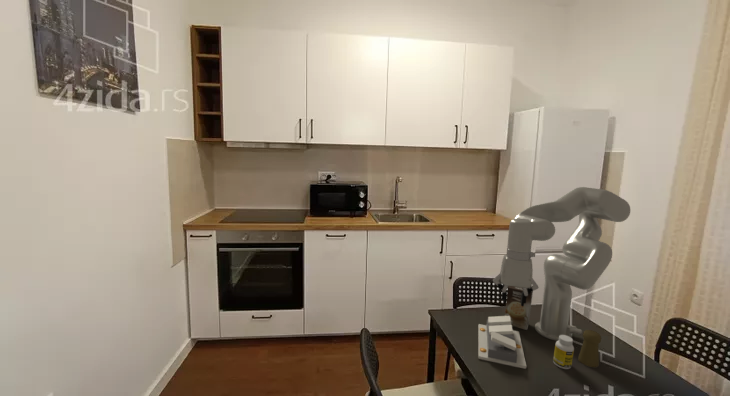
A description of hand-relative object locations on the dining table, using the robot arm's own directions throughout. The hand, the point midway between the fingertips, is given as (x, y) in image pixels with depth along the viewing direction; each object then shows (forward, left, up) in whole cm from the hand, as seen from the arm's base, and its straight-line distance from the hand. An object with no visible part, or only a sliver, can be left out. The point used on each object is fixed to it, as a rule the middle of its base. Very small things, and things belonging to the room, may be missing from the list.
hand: (513, 302), depth 119 cm
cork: (-25, -1, -18) cm, 31 cm away
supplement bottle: (-16, +4, -18) cm, 24 cm away
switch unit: (+3, 0, -17) cm, 18 cm away
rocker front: (+3, +7, -12) cm, 14 cm away
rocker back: (+3, -7, -12) cm, 14 cm away
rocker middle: (+3, 0, -12) cm, 12 cm away
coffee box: (-4, -19, -18) cm, 26 cm away
